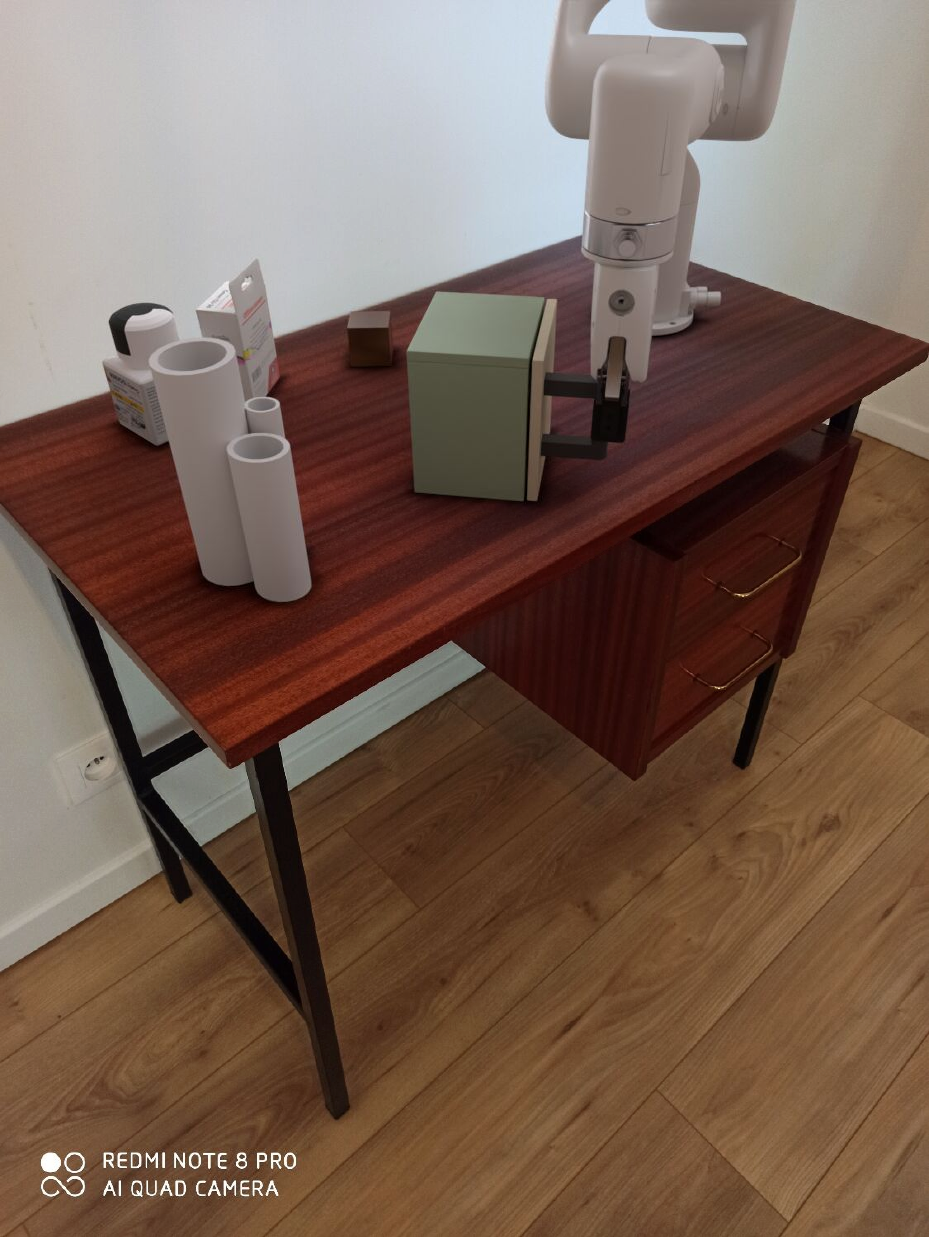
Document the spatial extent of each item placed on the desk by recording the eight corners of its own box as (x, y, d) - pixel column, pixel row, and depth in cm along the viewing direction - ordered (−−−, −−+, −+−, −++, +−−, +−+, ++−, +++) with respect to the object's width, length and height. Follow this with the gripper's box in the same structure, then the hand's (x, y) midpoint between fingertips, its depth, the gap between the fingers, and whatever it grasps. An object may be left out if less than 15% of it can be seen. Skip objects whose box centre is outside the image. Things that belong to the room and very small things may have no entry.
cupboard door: (607, 434, 99) (621, 302, 90) (601, 506, 89) (616, 365, 79) (540, 430, 100) (547, 298, 90) (526, 500, 90) (532, 360, 80)
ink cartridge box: (243, 375, 112) (220, 252, 102) (281, 378, 111) (262, 255, 101) (214, 408, 105) (187, 281, 96) (255, 412, 104) (232, 284, 95)
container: (118, 424, 103) (85, 311, 94) (177, 400, 107) (150, 290, 98) (157, 447, 99) (126, 332, 90) (216, 421, 103) (192, 309, 94)
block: (393, 348, 117) (390, 310, 113) (391, 366, 113) (388, 327, 110) (354, 349, 117) (350, 311, 113) (350, 367, 113) (346, 328, 110)
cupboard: (538, 431, 100) (544, 296, 90) (523, 501, 90) (528, 358, 80) (440, 424, 102) (436, 291, 92) (414, 492, 91) (406, 350, 81)
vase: (186, 576, 81) (129, 367, 68) (231, 532, 86) (187, 330, 73) (295, 607, 78) (257, 393, 65) (336, 560, 83) (309, 352, 70)
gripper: (675, 270, 68) (646, 481, 80) (675, 205, 80) (649, 398, 92) (575, 265, 69) (561, 474, 81) (589, 202, 81) (575, 393, 93)
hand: (608, 432), depth 86 cm, fingers closed on cupboard door
